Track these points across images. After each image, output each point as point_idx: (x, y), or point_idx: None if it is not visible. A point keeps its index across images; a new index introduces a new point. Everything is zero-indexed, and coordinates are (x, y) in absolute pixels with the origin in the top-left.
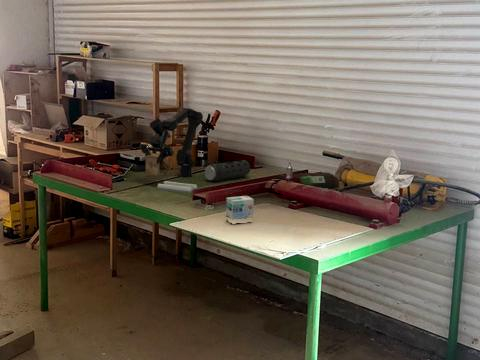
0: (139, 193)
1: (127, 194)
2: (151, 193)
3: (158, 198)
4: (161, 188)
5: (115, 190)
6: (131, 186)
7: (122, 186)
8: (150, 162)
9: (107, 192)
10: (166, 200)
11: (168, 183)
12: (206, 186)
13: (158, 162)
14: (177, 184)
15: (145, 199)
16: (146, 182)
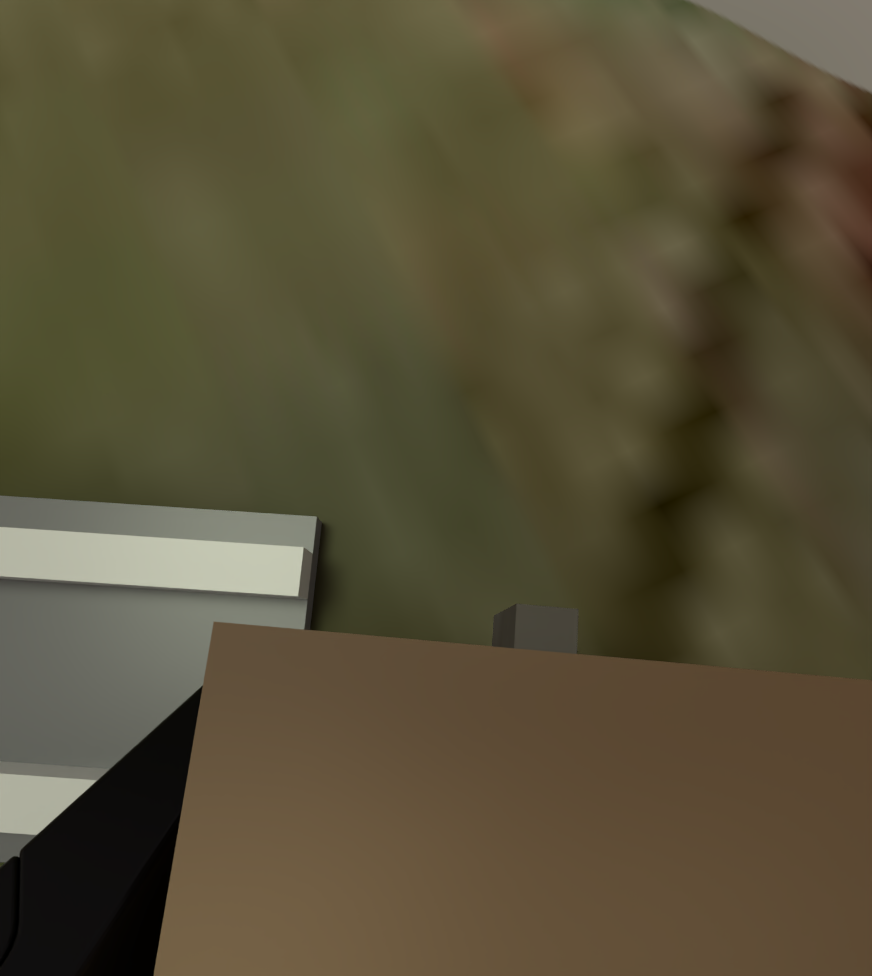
0: (443, 230)
1: (554, 137)
2: (299, 287)
3: (127, 115)
4: (233, 512)
5: (802, 247)
6: (749, 536)
7: (864, 482)
8: (538, 606)
9: (823, 130)
10: (9, 75)
11: None
12: None
13: None
14: (2, 769)
15: (256, 30)
16: None
